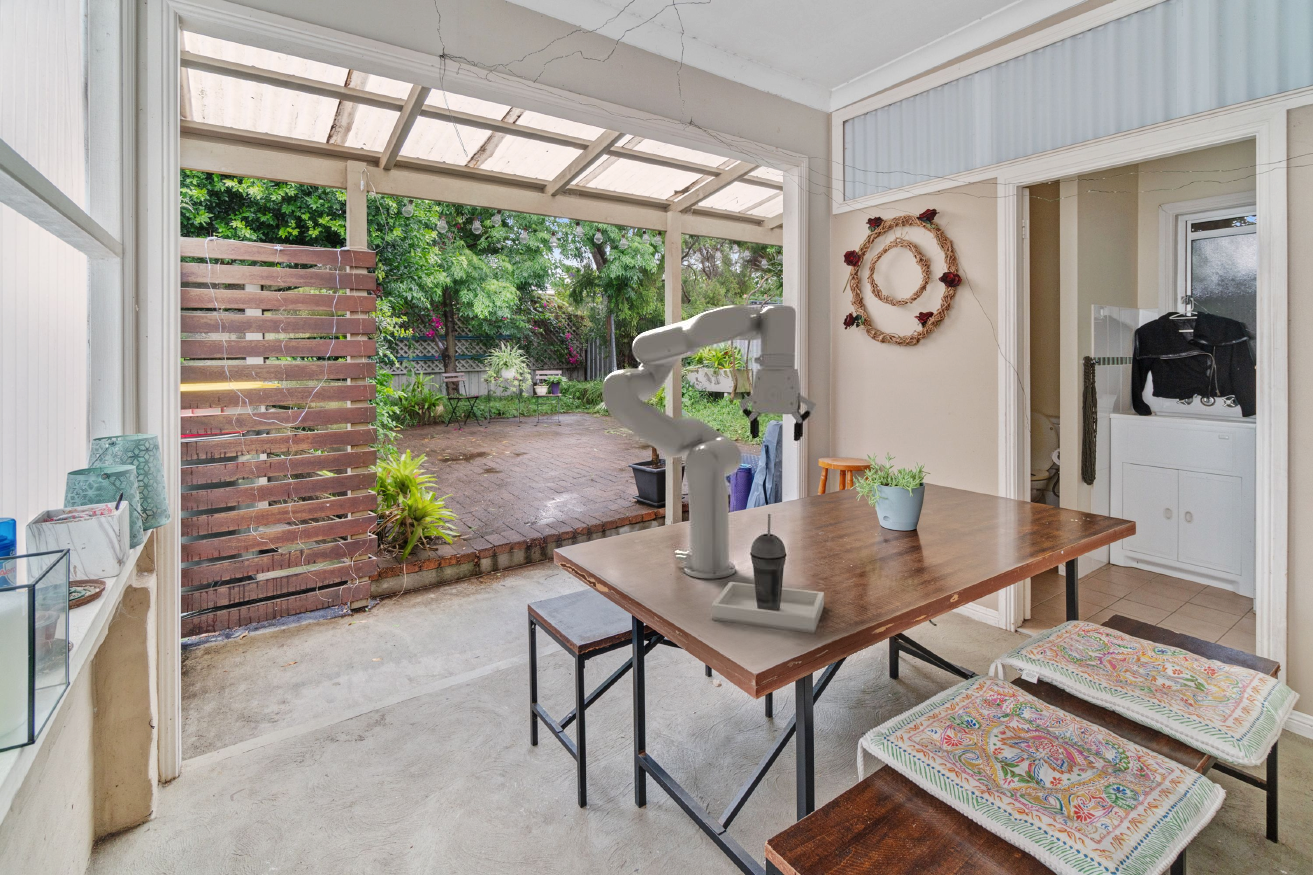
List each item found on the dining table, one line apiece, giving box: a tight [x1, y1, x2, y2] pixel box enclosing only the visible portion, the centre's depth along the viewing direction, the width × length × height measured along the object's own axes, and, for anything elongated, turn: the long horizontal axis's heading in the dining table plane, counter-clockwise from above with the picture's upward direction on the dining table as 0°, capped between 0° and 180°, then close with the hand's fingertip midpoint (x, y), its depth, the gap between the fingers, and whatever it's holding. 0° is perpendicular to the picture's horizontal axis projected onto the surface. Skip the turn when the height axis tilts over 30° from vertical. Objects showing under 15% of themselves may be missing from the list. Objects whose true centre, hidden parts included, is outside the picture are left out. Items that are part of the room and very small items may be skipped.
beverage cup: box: [749, 513, 787, 611], centre depth 127 cm, size 7×7×20 cm
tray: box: [710, 581, 825, 634], centre depth 127 cm, size 20×14×3 cm
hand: (775, 439), depth 142 cm, fingers open, 9 cm apart
